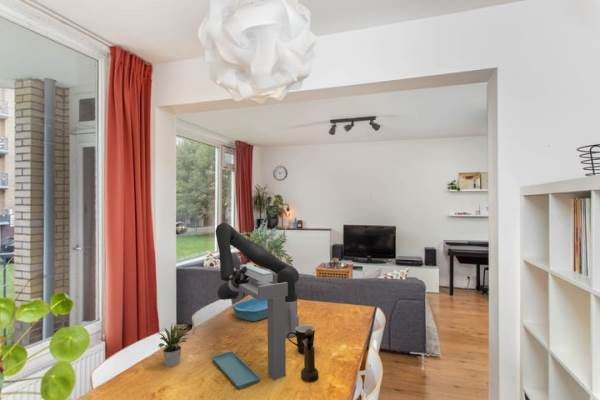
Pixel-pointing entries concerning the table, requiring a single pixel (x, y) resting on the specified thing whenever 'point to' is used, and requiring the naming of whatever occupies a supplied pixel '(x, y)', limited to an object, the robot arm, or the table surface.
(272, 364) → the grey gallows post
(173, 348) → the house plant
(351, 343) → the table surface
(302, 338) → the coffee mug
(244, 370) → the teal serving tray
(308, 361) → the mortar and pestle
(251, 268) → the grey rectangular box
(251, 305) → the casserole dish
